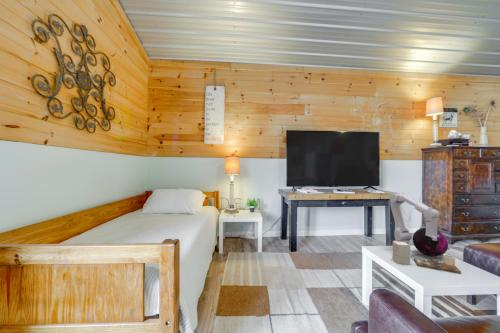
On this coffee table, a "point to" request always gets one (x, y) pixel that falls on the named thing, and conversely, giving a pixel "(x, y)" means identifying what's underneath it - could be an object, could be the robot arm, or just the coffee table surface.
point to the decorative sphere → (421, 243)
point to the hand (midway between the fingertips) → (431, 248)
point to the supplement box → (401, 252)
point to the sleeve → (449, 261)
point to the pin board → (435, 265)
